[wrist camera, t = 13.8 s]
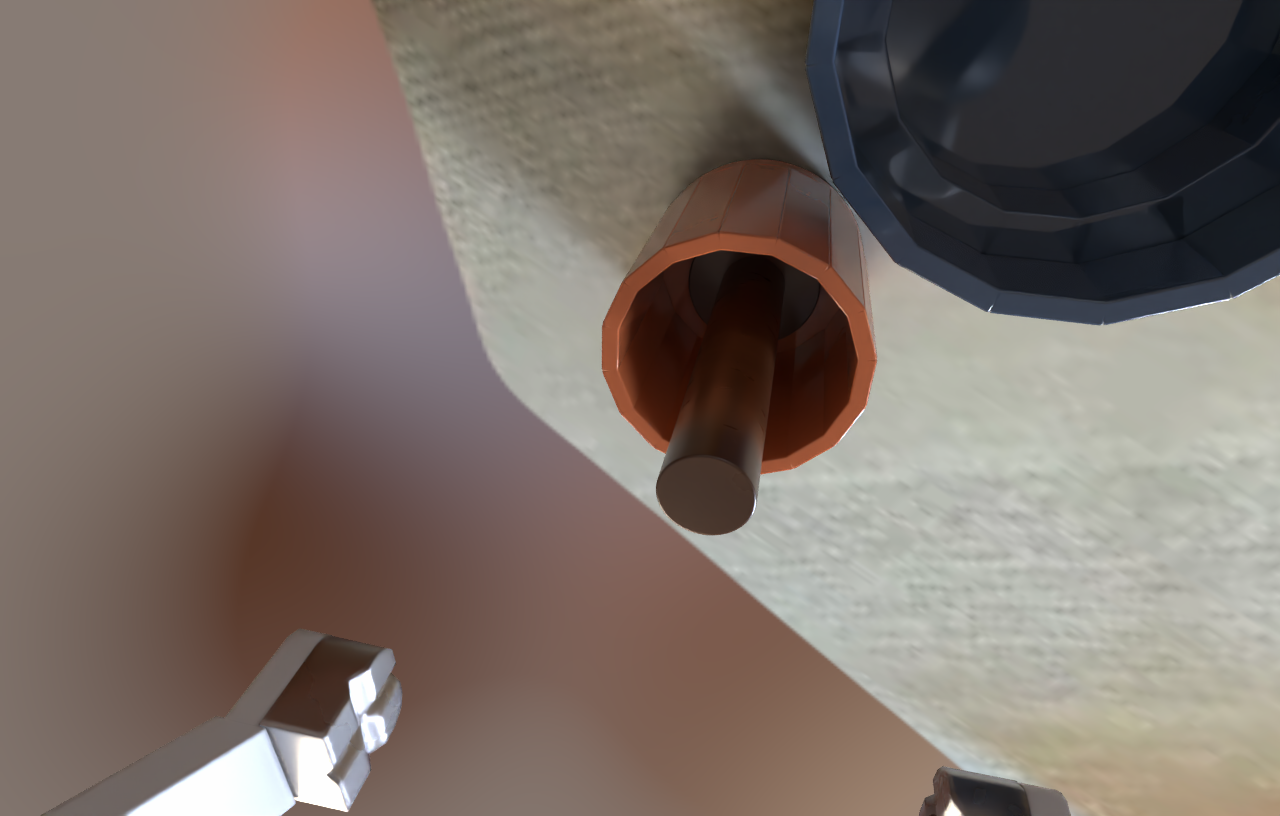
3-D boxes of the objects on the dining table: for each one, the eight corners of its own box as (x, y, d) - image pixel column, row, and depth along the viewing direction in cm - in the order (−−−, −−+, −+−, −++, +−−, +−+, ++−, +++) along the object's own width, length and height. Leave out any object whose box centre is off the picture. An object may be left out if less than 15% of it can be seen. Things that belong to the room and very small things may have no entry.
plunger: (697, 206, 26) (602, 391, 15) (830, 219, 25) (831, 423, 14) (688, 325, 28) (601, 557, 18) (810, 340, 28) (797, 592, 17)
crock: (660, 149, 26) (602, 219, 19) (883, 169, 25) (902, 250, 18) (651, 342, 30) (600, 455, 23) (842, 367, 29) (846, 493, 22)
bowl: (864, -344, 19) (877, -460, 13) (1535, -358, 16) (1882, -507, 11) (784, 218, 26) (773, 288, 21) (1233, 263, 24) (1350, 355, 19)
